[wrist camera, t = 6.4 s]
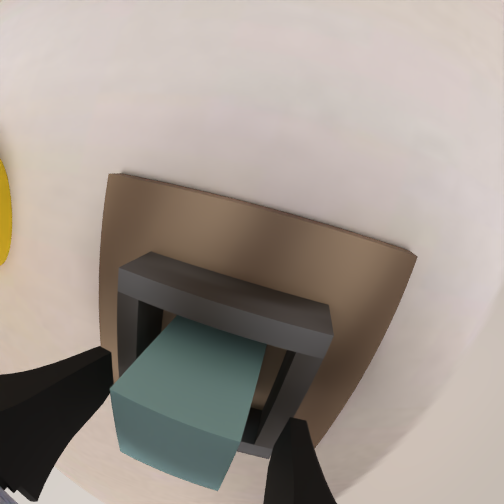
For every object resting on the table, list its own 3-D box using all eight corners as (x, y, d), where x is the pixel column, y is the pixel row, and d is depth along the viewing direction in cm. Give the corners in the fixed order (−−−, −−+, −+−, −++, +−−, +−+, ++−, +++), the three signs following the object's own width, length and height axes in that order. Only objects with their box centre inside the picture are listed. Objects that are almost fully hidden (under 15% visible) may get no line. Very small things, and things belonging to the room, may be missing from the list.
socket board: (409, 250, 11) (443, 276, 8) (306, 448, 15) (303, 489, 11) (120, 173, 12) (72, 175, 9) (112, 382, 16) (86, 411, 13)
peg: (269, 334, 12) (240, 442, 6) (248, 395, 13) (218, 491, 7) (184, 307, 12) (109, 388, 7) (175, 370, 13) (120, 451, 8)
